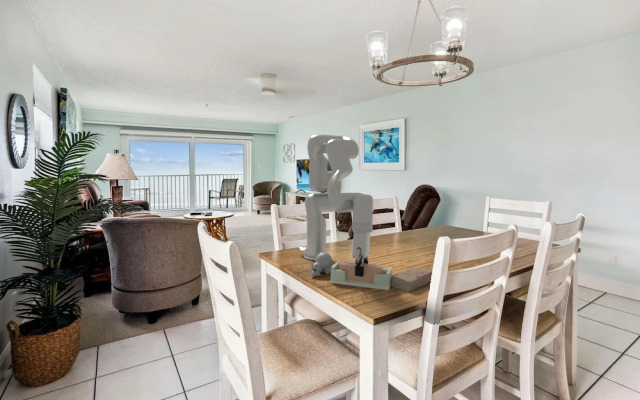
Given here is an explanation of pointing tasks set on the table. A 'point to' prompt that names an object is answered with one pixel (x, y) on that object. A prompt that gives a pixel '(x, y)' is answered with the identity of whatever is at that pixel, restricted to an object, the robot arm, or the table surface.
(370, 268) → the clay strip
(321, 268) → the chubby cartoon animal
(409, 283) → the brick
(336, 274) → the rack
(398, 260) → the table surface
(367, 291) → the table surface
